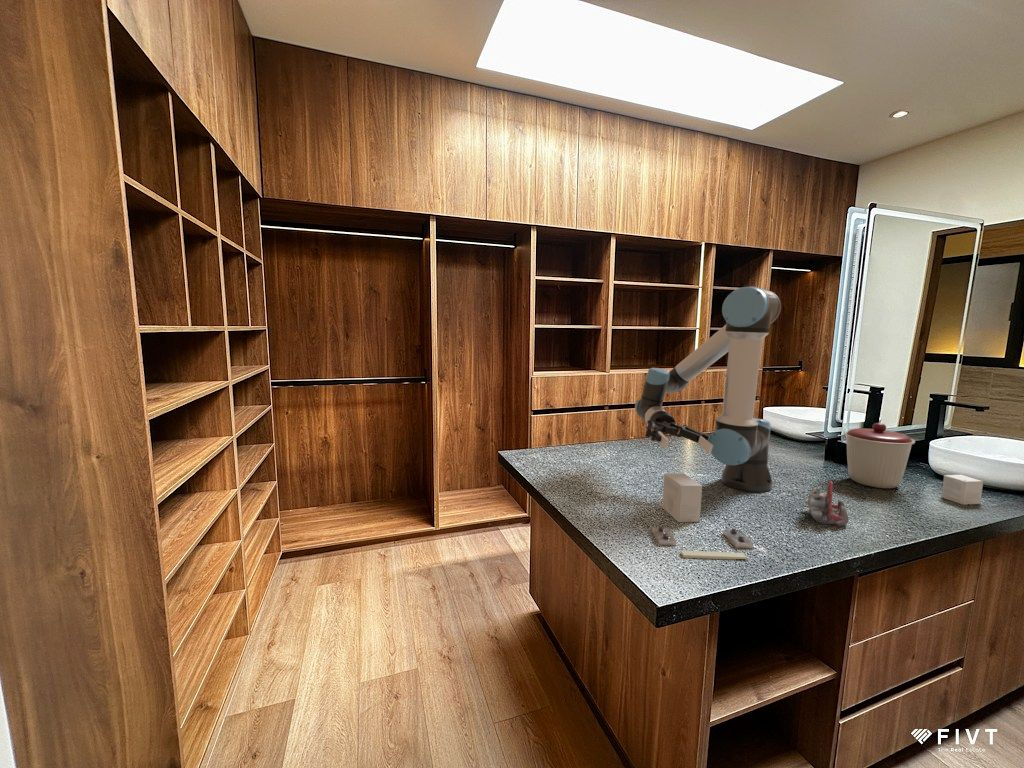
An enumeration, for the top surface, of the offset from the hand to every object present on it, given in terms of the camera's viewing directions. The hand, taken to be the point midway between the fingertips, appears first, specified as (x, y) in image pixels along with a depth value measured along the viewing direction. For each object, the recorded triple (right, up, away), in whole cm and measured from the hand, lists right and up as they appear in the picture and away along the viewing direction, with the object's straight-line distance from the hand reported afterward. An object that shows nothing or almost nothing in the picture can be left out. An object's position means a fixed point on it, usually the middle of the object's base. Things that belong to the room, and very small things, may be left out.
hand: (689, 447), depth 123 cm
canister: (+72, -16, +21) cm, 77 cm away
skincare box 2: (+86, -18, +6) cm, 88 cm away
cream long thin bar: (-6, -21, -26) cm, 34 cm away
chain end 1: (-14, -20, -18) cm, 30 cm away
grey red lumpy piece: (+35, -19, -7) cm, 40 cm away
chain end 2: (+4, -20, -19) cm, 28 cm away
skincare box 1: (-4, -19, -4) cm, 20 cm away
